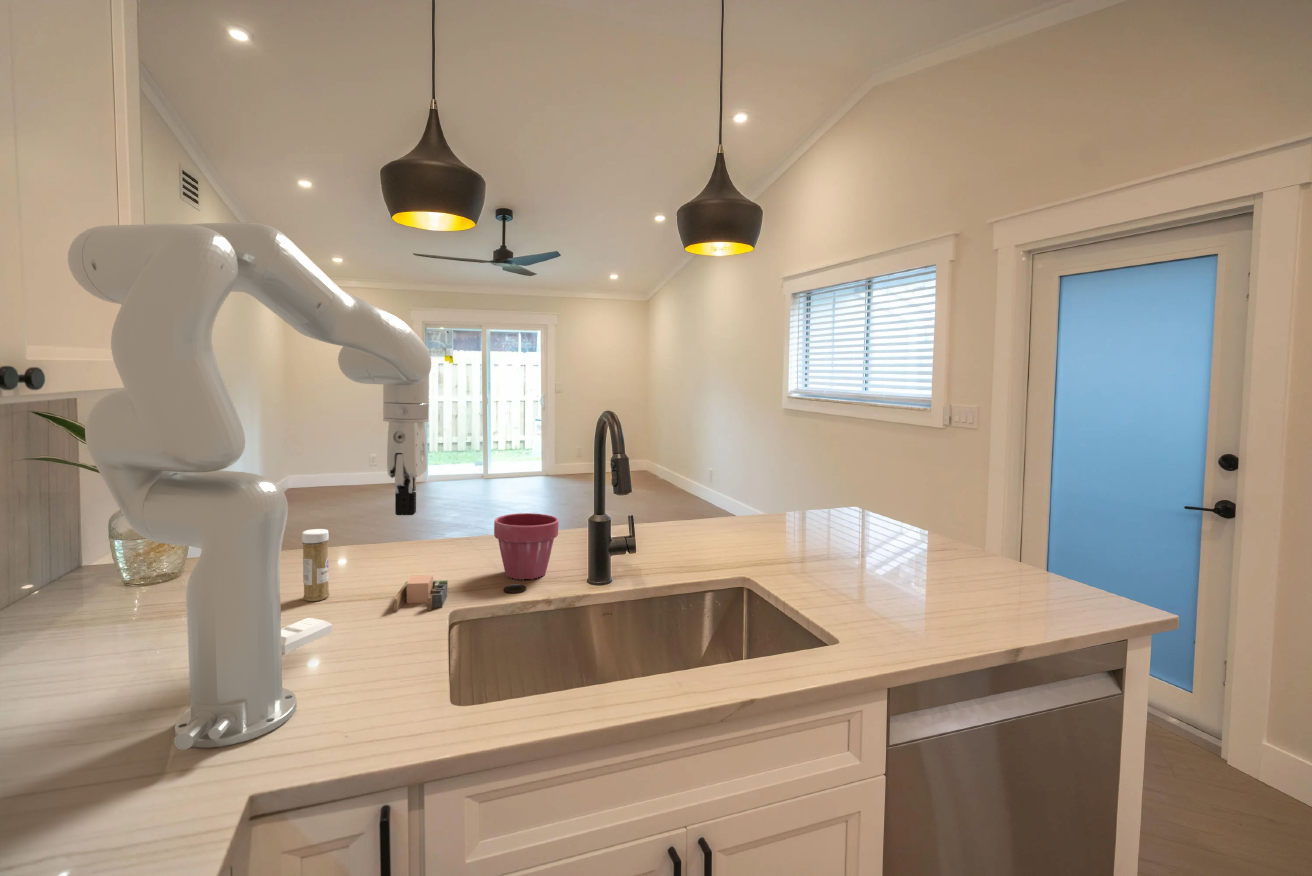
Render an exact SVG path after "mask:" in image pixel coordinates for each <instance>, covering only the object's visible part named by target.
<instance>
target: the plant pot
mask: <svg viewBox="0 0 1312 876" xmlns="http://www.w3.org/2000/svg"><path fill="white" fill-rule="evenodd" d="M493 523H494V525H493V536H494V538H495V539H497V540H498V545H499V550H500V555H501V559H502V564H503V569H504V573H505V576H506V577H507V576H508V577H507V578H509V577H510V579H512V578H513V579H512V580H518V579H519V580H521V579H522V580H521V581H523V580H524V579H531V580H535V579H534V578H537V579H539V578H538V577H540V578H542V577H541V576H543V577H544V576H545V575H546V574H547V569H548V567H549V566H548V565H549V562H550V558H551V554H552V550H553V545H554V541H555V540H554V539H555V538H556V537H558V535H559V518H557V517H556V516H553V515H549V514H545V513H535V512H533V513H532V512H529V513H527V512H525V513H524V512H523V513H522V512H521V513H520V512H518V513H511V514H504V515H501V516H498V517H496V518H495V519H494V522H493ZM545 573H546V574H545ZM524 581H525V580H524Z"/></svg>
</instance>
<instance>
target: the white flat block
mask: <svg viewBox="0 0 1312 876" xmlns="http://www.w3.org/2000/svg"><path fill="white" fill-rule="evenodd" d="M332 633H333V623H331V622H328V621H327V620H323V619H318V618H312V617H307V618H304V619H302V620H299V621H296V622H294V623H291V624H289V625H286V626H285V627H281V655H287V654H289V653H290V652H293V651H295V650H297V649H300V648H301V647H304V646H306V645H308V644H310V643H313V642H314V641H315V642H316V641H317V640H319V639H321V638H324V637H325V636H328V635H330V634H332Z"/></svg>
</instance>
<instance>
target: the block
mask: <svg viewBox="0 0 1312 876" xmlns="http://www.w3.org/2000/svg"><path fill="white" fill-rule="evenodd" d="M433 580H434V575H433V574H425V575H411V577H410V578H409V579H408V582H407V581H406V582H407V597H406V604H416V603H417V604H420V603H422V604H423V602H425V604H426V602H428V596H429V594H432V589H433Z"/></svg>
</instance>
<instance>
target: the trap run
mask: <svg viewBox="0 0 1312 876" xmlns="http://www.w3.org/2000/svg"><path fill="white" fill-rule="evenodd" d="M408 581H409V580H408ZM408 581H405V582H404V584H403V585H402V586H401V588H400V590H399V591H398V592H397V594H396V595H395V597H394V598H393V613H398V611H399V610H400V609H401V607H402V606H403V604H404V602H405V600H407V582H408ZM448 583H449V581H448V579H441V580H440V579H439V580H435V579H433V589H432V594H429V596H428V603H427V612H431V611H432V610H433V608H443V607H444V605H443V604H445V602H446V600H447V597H448V591H449V587H448V586H449V584H448ZM442 606H443V607H442Z"/></svg>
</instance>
